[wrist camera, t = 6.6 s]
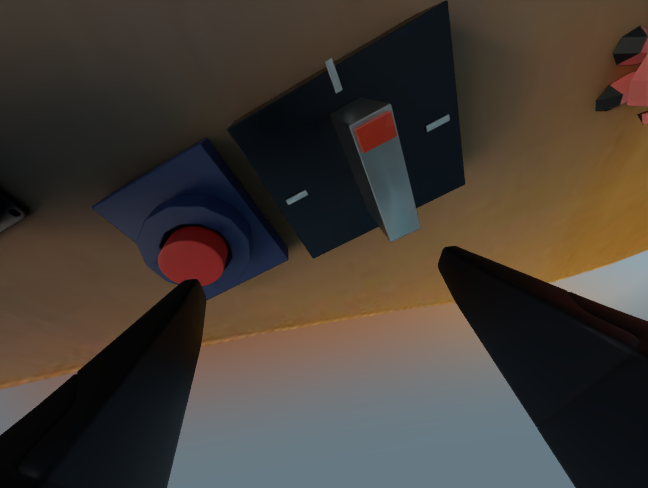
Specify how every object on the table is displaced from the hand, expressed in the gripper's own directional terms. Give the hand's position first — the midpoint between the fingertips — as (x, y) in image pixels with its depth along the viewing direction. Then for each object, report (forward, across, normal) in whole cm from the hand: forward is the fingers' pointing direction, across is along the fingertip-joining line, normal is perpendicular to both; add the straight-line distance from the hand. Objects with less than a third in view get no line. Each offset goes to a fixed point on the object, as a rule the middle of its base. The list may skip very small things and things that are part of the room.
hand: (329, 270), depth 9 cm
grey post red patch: (+8, -4, -2) cm, 9 cm away
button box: (+11, +7, +3) cm, 13 cm away
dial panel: (+11, -4, -2) cm, 11 cm away
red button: (+7, +7, +3) cm, 11 cm away
